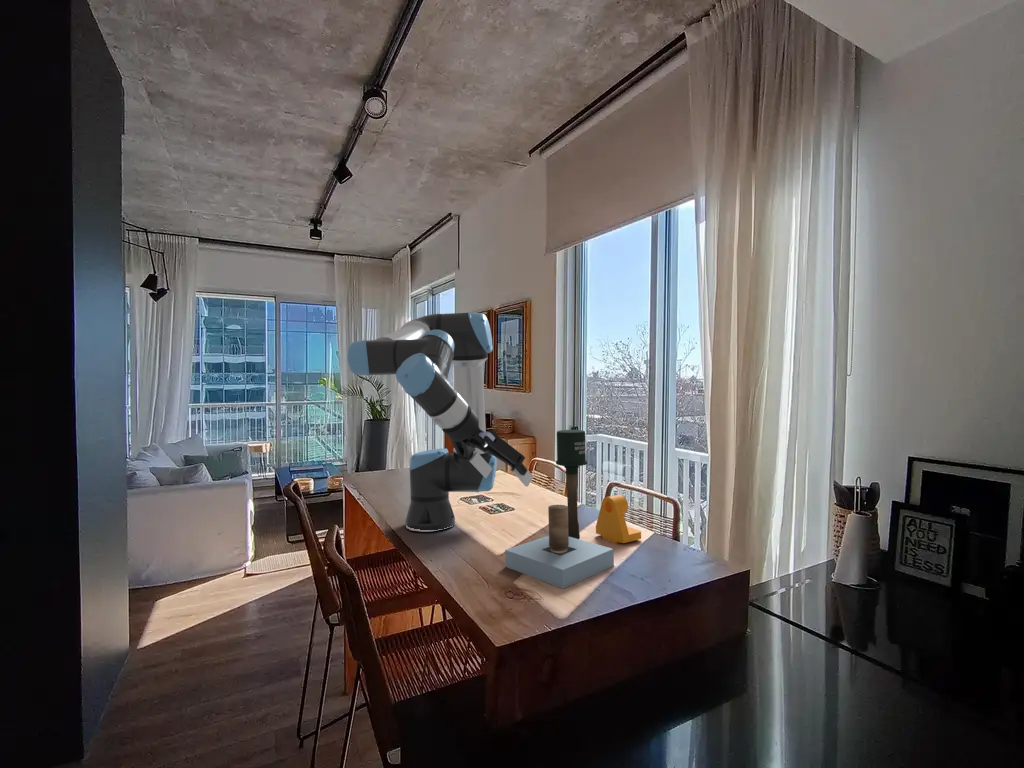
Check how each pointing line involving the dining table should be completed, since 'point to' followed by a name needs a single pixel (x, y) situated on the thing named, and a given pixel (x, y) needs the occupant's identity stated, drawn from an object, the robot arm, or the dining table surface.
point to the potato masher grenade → (571, 470)
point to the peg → (558, 529)
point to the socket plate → (559, 561)
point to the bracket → (615, 521)
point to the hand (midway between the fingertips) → (508, 477)
